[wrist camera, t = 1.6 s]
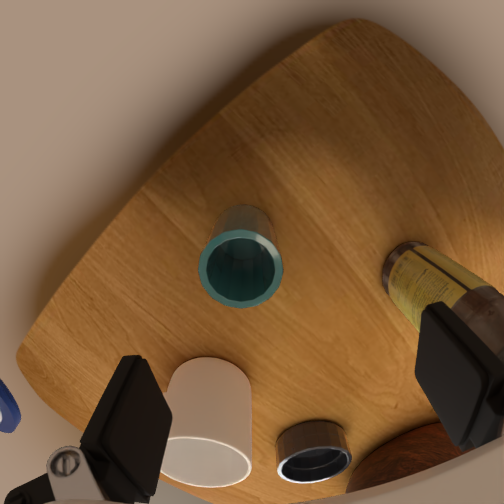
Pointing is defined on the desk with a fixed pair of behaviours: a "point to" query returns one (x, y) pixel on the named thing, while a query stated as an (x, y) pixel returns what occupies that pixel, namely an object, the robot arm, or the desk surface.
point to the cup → (241, 258)
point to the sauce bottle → (444, 291)
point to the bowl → (312, 452)
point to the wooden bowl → (405, 457)
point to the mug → (209, 424)
